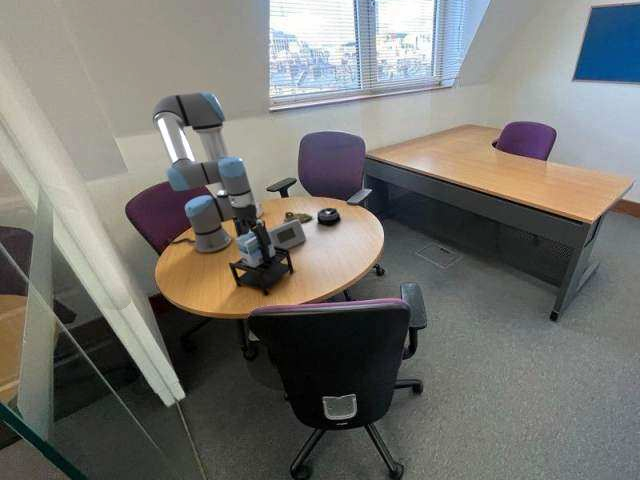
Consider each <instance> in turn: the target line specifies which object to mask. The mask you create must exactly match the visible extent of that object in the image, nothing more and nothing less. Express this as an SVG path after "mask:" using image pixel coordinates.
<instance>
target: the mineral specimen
mask: <svg viewBox="0 0 640 480" xmlns="http://www.w3.org/2000/svg"><path fill="white" fill-rule="evenodd" d="M255 205H256V208H257V212H256V216H257V218H258V219H259V218H260V217H262V215H263V214H264V211H263V210H264V209H263V207H262V204H261V203H260V202H256V203H255Z"/></svg>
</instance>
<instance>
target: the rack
mask: <svg viewBox="0 0 640 480" xmlns="http://www.w3.org/2000/svg"><path fill="white" fill-rule="evenodd" d="M274 250H277V251H275V255H274V256H272V257H271V259H270V260H268V261H267V262H263V263H261V264H259V265H258V266H256V267H255V268H253V267H251V266H249V265H247V264H245V263H243V260H242V258H240V259H239V260H237V261H235V262H231V261H230V262H228V265H229V269H230V271H231V274H232V276H233V279H234V282H235V284H236V287H238V288H239V287H241V286H242V285H243V286H248V287H250V288H253V289H256V290H258V291H261V292H262V294H263V296H265V297H267V296H268V295H269V291H268V290H269V289H270V288H271V287H272V286H273V285H274V284H276V283H277V282H278V281H279V280H280V279H281V278H283V277H284V276H285V275H286V274H287V273H288V272H289V273H290V274H293V273H294V271H295V269H294V267H293V261H292V258H291V254H290V249H285V248H281V247H277V246H274ZM279 251H280V252H279ZM285 259H286V262H287V263H284V262H283V261H284V260H285ZM237 270H239V271H243V272H244V273H242V274H241V275H240V276H239V274H238V271H237Z"/></svg>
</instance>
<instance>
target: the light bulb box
mask: <svg viewBox="0 0 640 480" xmlns="http://www.w3.org/2000/svg"><path fill="white" fill-rule="evenodd" d="M269 230H270V229H267V232H268V234H269V237H270V240H271V242H272V238H271V234H270V231H269ZM234 240H235V243H236V245H237V249H238V251H239V255H240V259H242V260H243V263H245V264H247V266H248V265H249V266H251V267H253V268H255V267H256V266H258V265H259V264H261V263H263V262H264V260H263V256H262V253H261V250H260V247H261V245H260V243H259V242H258V240H257V238H256V237H255V235H254V233H253V232H251V231H250V230H249V232H248V233H246V234H245V235H240V237H236V238H235V239H234ZM263 244H264V243H263ZM268 248H269V251H270V252H269V254H270V258H271V257H272V256H274V255H275V250H274V246H273V242H272V244H271V245H269V246H268ZM245 264H244V265H245Z"/></svg>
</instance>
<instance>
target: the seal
mask: <svg viewBox="0 0 640 480" xmlns="http://www.w3.org/2000/svg"><path fill="white" fill-rule="evenodd" d="M296 219H299V221H300V223H301V224H302V223H306V222H309V221H310V220H313V216H311V215H310V214H308V213H301V212H299V213H294V212H292V211H286V212H285V213H284V220H285V221H286V223H287V222H290V221H293V220H296Z"/></svg>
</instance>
